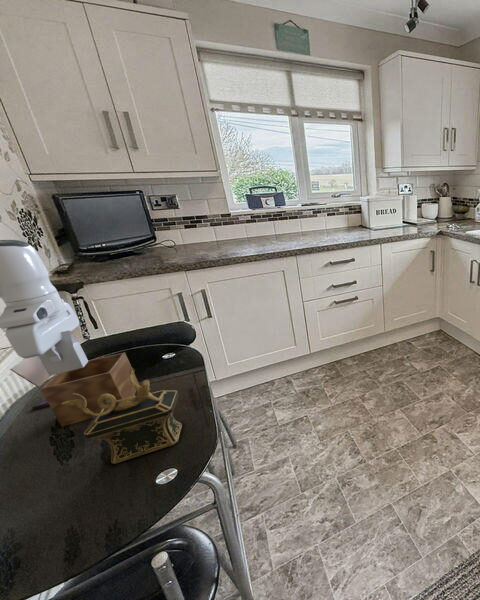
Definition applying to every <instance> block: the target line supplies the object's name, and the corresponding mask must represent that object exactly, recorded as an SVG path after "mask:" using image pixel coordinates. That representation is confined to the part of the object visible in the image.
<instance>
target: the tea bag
mask: <svg viewBox="0 0 480 600" xmlns="http://www.w3.org/2000/svg"><path fill="white" fill-rule="evenodd" d="M61 334H62V339H61V340H60V341H59V342H58V343H56V344H55V345H54V346H55V348H56V349H55V350H56V351H57V352H58V353H61V354H62V356H63V359H62V360H61V361H59V362H56V363H52V362H51V361H50V359H49V357H47V356H45V355H44V354H43V355H40V356H39V358H40V360H41V362H42V364H43V366H44V367H45V369H46V371H47V373H48V375H49V376H51V375H52V376H55V375H56V374H59V373H63V372H67V371H71V370H75V369H79V368H83V367H84V366H85V365H86V364H87V362H88V361H89V359H88V358H87V355H86V353H85V352H84V350H83V347H82V345H81V343H80V341H79V340H78V338H76V336H74V334H73V333H72V331H71V332H70V330H68V331H63V332H61ZM52 376H51V377H52Z"/></svg>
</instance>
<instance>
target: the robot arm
mask: <svg viewBox="0 0 480 600" xmlns="http://www.w3.org/2000/svg"><path fill="white" fill-rule="evenodd" d="M0 299H1V300H2V301H3V302H4V304H5V307H4V309H3V312H2V313H1V314H0V329H2V330H4V329H5V335H6V338H7V340H8V342H9V344H10V345H11V348H12V349H13V350H14V352H15V353H16V355H17V356H18V357H20V358H22V359H24V358H31V357H36V356H40V355H43V354H44V355H45V356H47V357H49V359H50V361H51V362H52V363H56V362H59V361H61V360H62V359H63V356H62V354H61V353H58V352H57V351H56V350H55V349H56V348H55V346H54V345H55V344H56V343H58V342H59V341H60V340H61V339H62V334H61V332H63V331H68V330H70V332H71V333H72V332H73V331H74V330H75V329H77V328H78V327H79V326H80V319H79V318H78V316H77V314H76V312H75V310H74V309H73V307H72V306H71V305H70V303H68V302H65V300H64V298H61V296H60V293H59V292H58V289H57V288H56V287H55V286H54V285H53V283H52V281H51V280H50V274H49V271H48V269H47V267H46V265H45V263H44V262H43V260H42V258H41V256H40V255H39V253H38V252H37V250H36V249H35V248H34V247H33V246H32V245H31V244H30V243H28V242H26V241H23V240H17V239H0Z"/></svg>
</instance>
